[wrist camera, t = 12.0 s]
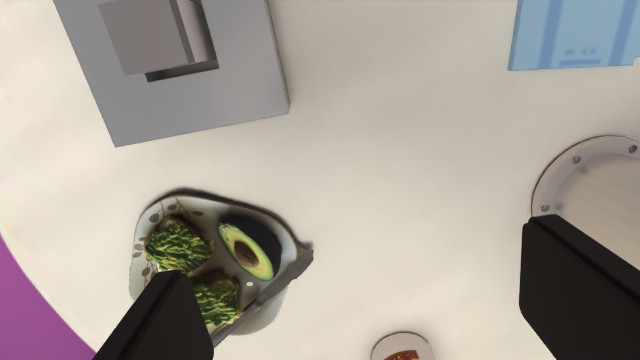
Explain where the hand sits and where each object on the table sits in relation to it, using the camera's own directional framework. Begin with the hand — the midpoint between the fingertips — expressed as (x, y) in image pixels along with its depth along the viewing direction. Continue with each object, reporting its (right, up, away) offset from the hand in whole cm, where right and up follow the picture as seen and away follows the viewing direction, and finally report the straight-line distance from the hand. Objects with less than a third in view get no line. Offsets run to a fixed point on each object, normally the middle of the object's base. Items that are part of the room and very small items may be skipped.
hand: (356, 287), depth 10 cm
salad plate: (-12, -6, +28) cm, 31 cm away
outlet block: (-12, +15, +19) cm, 27 cm away
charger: (-12, +15, +18) cm, 26 cm away
